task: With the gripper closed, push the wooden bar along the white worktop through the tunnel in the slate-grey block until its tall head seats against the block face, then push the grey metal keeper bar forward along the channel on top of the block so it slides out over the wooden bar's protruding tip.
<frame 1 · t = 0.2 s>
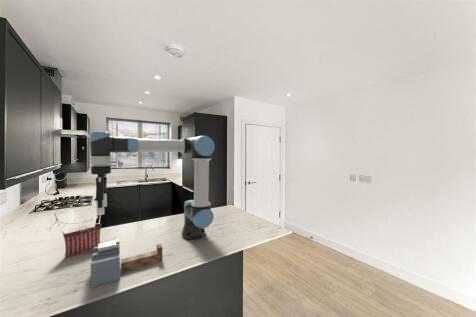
hand: (102, 210, 91), 28 cm above the table, fingers open, 13 cm apart
block: (107, 273, 88), on the table
wooden bar: (140, 264, 95), on the table
handbag: (80, 254, 104), on the table
keeper: (109, 246, 88), point 12 cm above the table, slide at 0.0 cm
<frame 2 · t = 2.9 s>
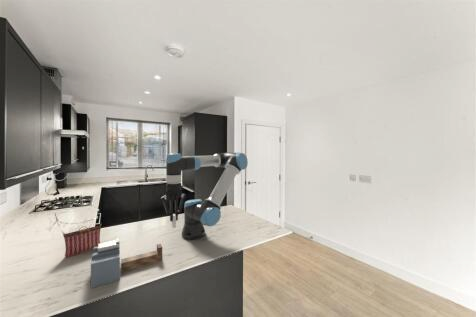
hand: (173, 226, 103), 15 cm above the table, fingers closed
nothing on the table moved.
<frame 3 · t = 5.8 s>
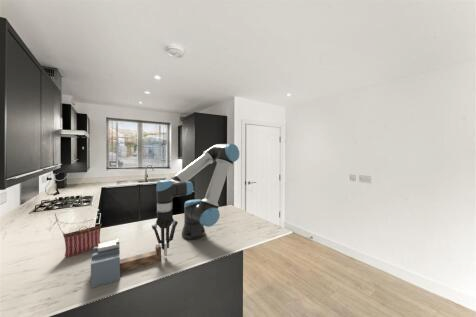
hand: (165, 254, 101), 2 cm above the table, fingers closed
wooden bar: (138, 264, 95), on the table, touching gripper
everything else where it was.
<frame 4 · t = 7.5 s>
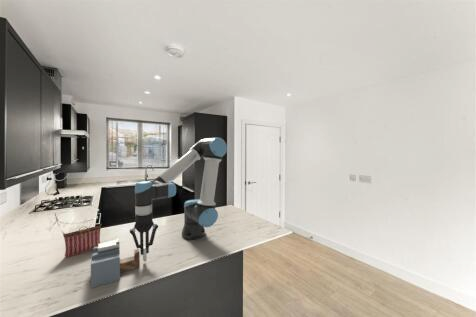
hand: (144, 260, 96), 2 cm above the table, fingers closed
wooden bar: (115, 271, 89), on the table, touching gripper
everything else where it was.
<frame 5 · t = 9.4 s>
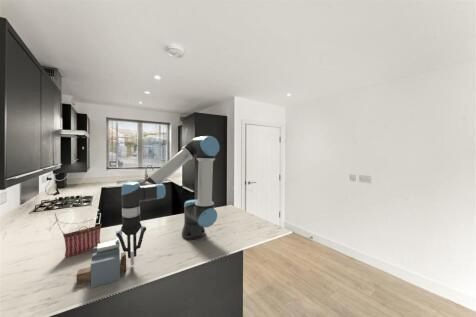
hand: (132, 263, 93), 2 cm above the table, fingers closed
wooden bar: (100, 275, 87), on the table, touching gripper
everything else where it was.
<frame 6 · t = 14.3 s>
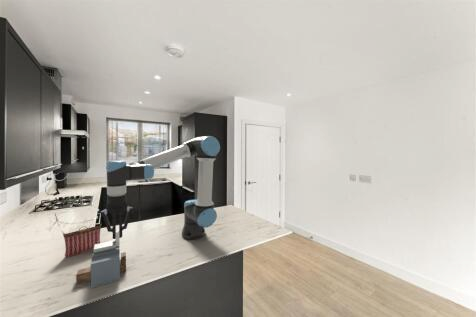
hand: (117, 244, 90), 12 cm above the table, fingers closed
wooden bar: (100, 275, 87), on the table
keeper: (105, 247, 87), point 12 cm above the table, slide at 1.4 cm, touching gripper
everything else where it was.
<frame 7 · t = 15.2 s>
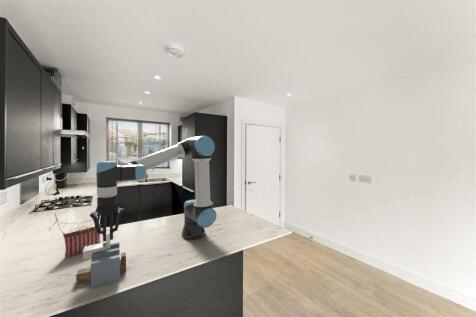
hand: (108, 247, 88), 12 cm above the table, fingers closed
keeper: (95, 249, 85), point 12 cm above the table, slide at 5.0 cm, touching gripper
everything else where it was.
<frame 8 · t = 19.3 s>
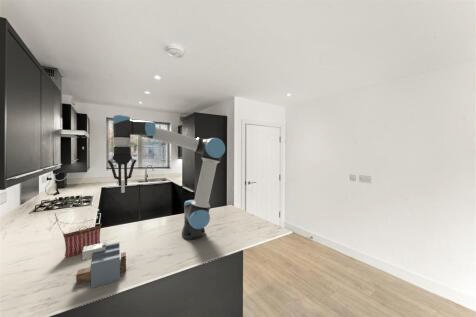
hand: (123, 192, 99), 34 cm above the table, fingers closed
keeper: (94, 249, 85), point 12 cm above the table, slide at 5.2 cm
everything else where it was.
at the end: wooden bar 0.0 cm from the target spot on the block, point 0.0 cm above the block's base; keeper slide at 5.2 cm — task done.
